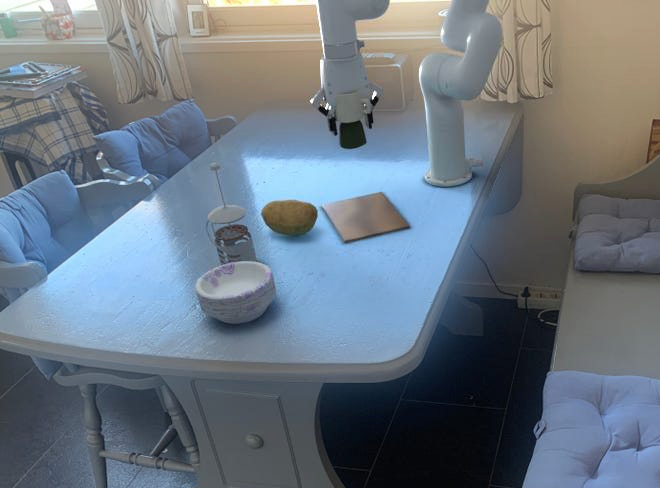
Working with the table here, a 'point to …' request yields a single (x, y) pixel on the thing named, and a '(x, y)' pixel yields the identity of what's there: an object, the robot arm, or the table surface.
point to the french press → (230, 232)
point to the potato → (289, 216)
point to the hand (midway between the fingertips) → (351, 130)
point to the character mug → (351, 119)
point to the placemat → (364, 217)
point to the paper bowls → (236, 291)
